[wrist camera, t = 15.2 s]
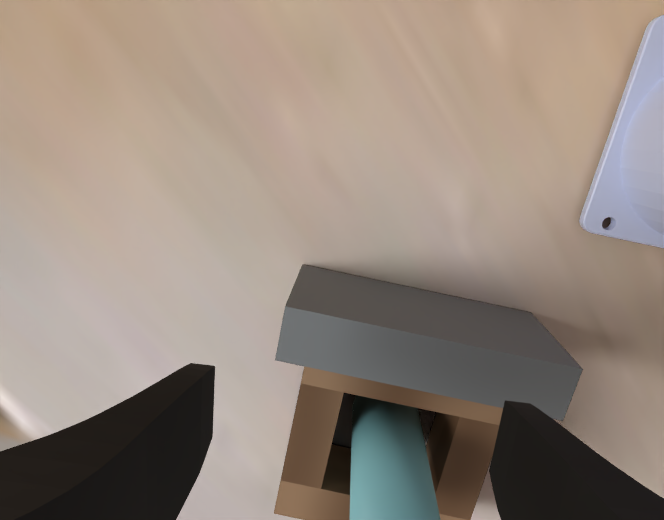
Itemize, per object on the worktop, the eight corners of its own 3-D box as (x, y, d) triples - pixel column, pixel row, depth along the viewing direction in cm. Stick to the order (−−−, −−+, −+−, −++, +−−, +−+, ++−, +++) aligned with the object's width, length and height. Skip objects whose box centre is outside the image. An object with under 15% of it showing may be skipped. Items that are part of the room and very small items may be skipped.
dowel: (408, 374, 22) (434, 509, 14) (424, 430, 23) (457, 587, 15) (344, 389, 22) (336, 529, 15) (362, 444, 23) (363, 604, 15)
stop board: (531, 312, 21) (582, 368, 16) (517, 354, 21) (562, 420, 17) (302, 264, 21) (285, 306, 16) (294, 307, 21) (274, 360, 16)
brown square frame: (494, 352, 21) (516, 387, 18) (446, 499, 23) (458, 552, 21) (315, 314, 21) (309, 344, 18) (284, 465, 23) (274, 513, 21)
